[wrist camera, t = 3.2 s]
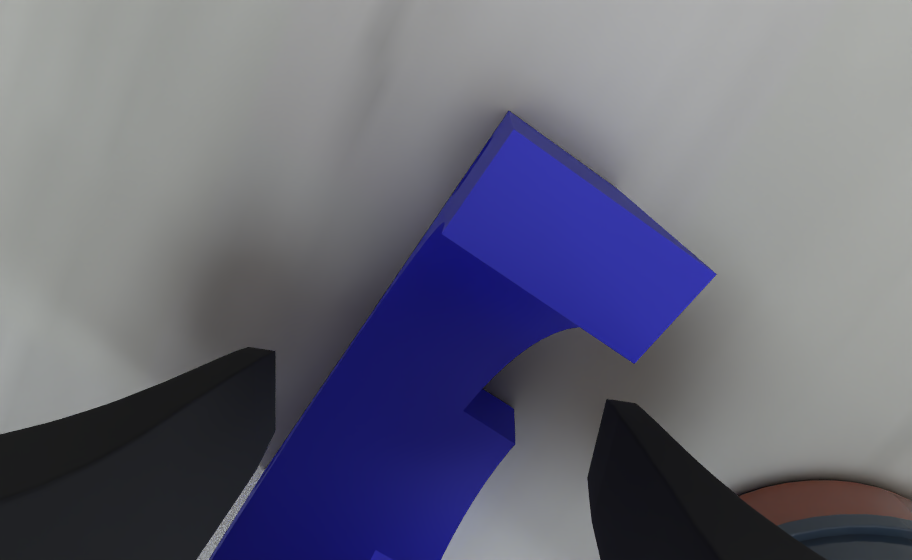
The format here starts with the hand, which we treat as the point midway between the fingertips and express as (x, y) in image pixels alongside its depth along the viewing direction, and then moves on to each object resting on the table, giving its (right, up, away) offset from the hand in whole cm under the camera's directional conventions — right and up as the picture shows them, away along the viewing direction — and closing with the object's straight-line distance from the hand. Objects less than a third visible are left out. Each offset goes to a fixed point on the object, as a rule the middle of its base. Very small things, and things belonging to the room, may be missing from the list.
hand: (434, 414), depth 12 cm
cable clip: (0, +1, +2) cm, 3 cm away
